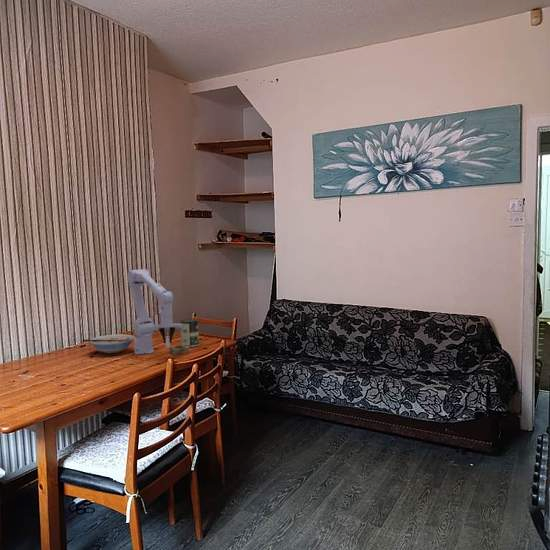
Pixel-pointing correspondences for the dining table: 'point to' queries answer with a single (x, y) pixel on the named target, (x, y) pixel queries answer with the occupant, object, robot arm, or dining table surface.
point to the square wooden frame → (179, 349)
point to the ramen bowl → (111, 343)
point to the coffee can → (189, 332)
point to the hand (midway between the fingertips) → (167, 342)
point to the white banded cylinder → (167, 339)
